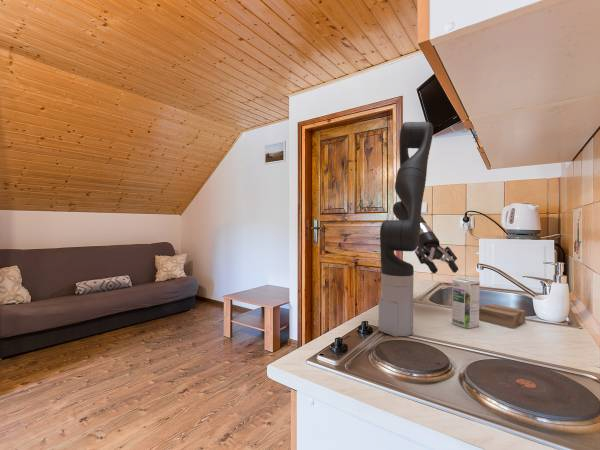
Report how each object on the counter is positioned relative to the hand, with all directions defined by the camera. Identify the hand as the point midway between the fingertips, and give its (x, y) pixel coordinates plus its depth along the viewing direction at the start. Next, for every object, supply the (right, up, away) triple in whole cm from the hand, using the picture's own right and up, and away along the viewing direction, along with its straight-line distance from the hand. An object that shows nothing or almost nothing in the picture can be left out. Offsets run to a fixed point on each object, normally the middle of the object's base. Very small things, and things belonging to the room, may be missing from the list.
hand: (446, 271), depth 101 cm
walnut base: (+16, -16, -4) cm, 23 cm away
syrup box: (+2, -16, -8) cm, 18 cm away
